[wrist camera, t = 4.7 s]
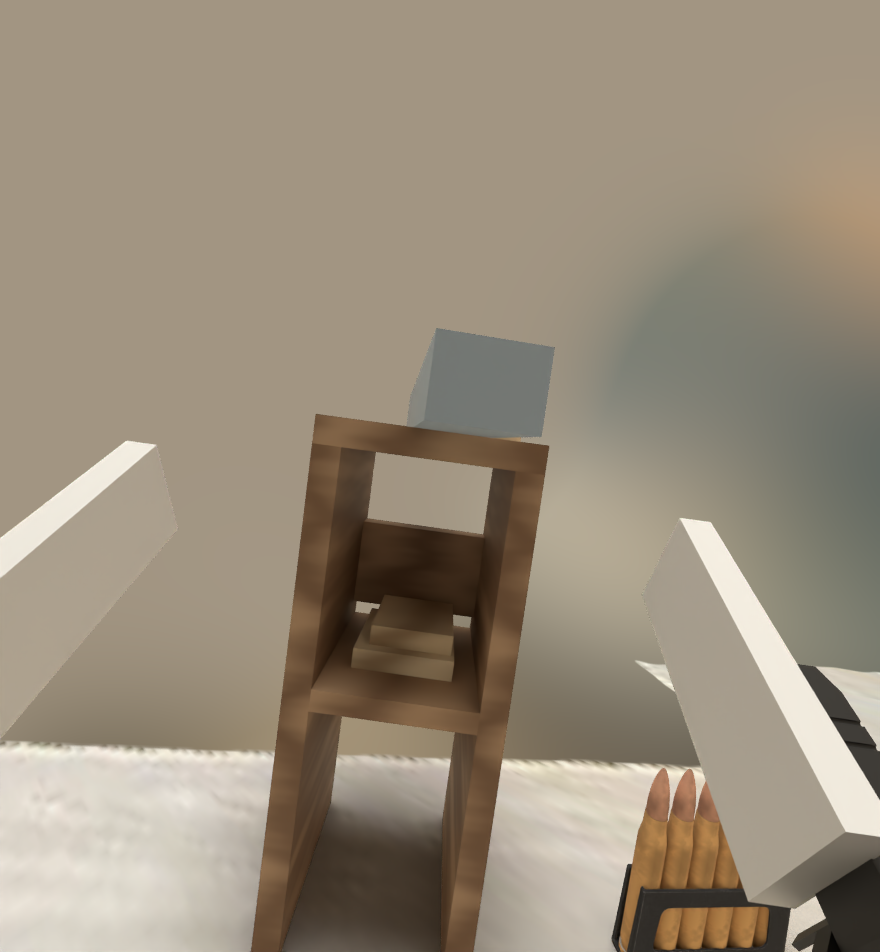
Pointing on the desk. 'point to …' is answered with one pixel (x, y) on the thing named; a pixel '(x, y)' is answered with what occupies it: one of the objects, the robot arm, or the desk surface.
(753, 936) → the ammunition clip
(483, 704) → the rack
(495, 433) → the batten
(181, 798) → the desk surface
